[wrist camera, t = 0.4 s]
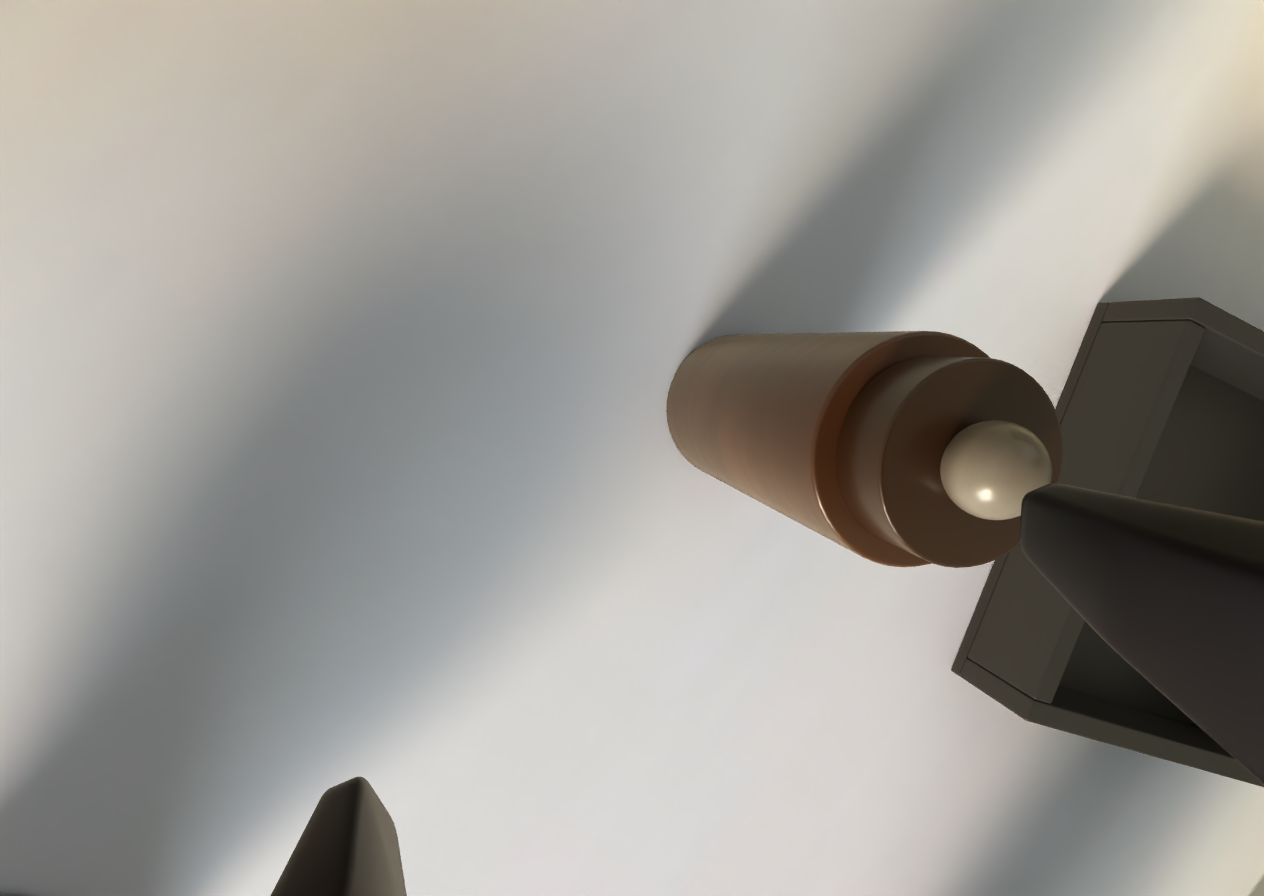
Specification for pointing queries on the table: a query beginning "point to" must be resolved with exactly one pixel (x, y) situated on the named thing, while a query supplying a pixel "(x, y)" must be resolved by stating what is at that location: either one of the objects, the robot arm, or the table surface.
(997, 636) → the dark grey tray
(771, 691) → the table surface
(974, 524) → the pepper mill
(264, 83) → the table surface
